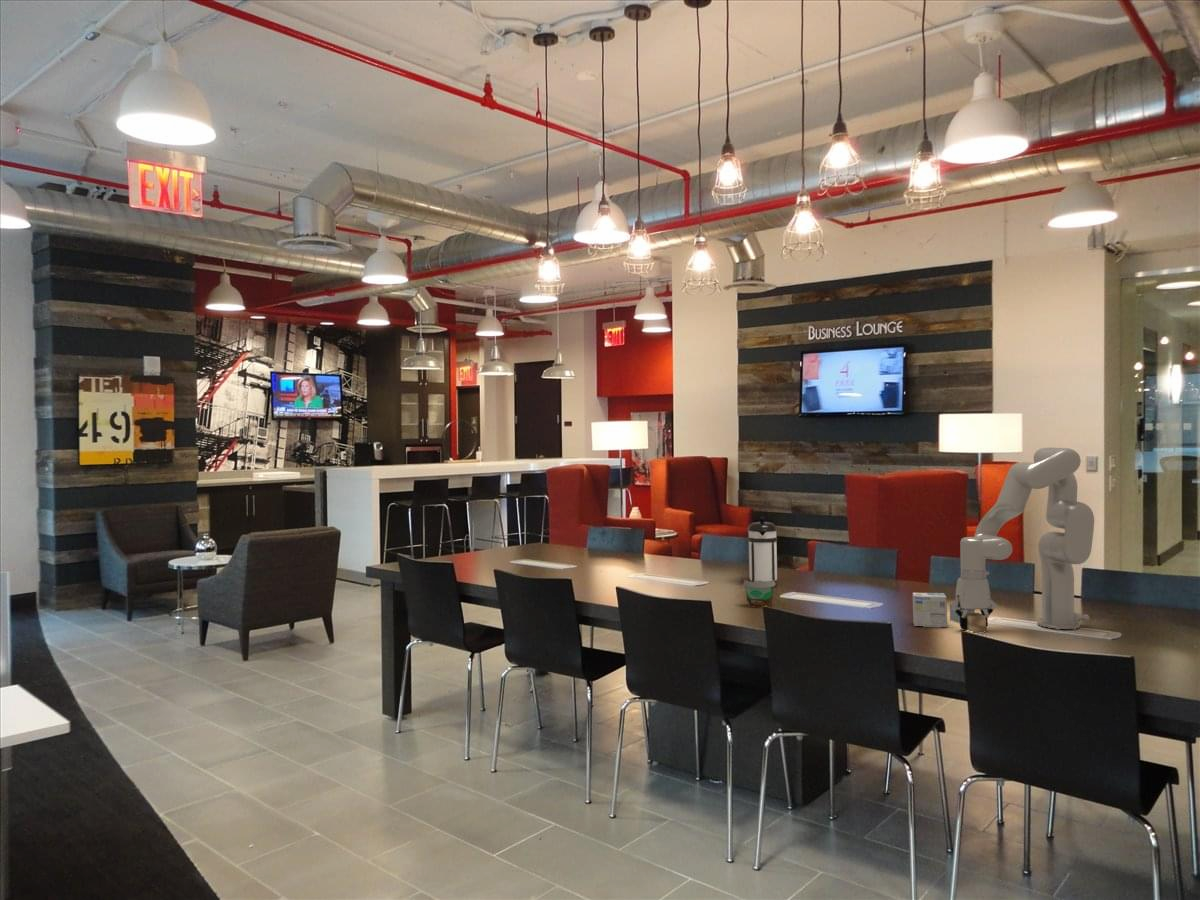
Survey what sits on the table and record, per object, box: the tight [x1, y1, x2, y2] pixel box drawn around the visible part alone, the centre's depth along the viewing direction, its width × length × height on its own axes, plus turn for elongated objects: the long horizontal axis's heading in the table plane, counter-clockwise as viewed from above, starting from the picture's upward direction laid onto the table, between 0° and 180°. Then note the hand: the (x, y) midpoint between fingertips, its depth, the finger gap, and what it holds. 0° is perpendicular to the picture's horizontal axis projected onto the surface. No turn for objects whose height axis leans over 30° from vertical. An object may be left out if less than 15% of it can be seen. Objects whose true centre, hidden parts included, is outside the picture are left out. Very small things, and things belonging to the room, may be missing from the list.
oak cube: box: [962, 612, 987, 633], centre depth 278 cm, size 6×6×6 cm
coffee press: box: [747, 516, 778, 586], centre depth 370 cm, size 17×16×30 cm
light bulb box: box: [912, 592, 948, 628], centre depth 286 cm, size 11×7×11 cm, turn 74°
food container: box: [743, 579, 776, 608], centre depth 323 cm, size 12×6×10 cm, turn 76°
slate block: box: [949, 602, 976, 624], centre depth 291 cm, size 4×7×6 cm, turn 16°
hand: (973, 628), depth 278 cm, fingers open, 5 cm apart
